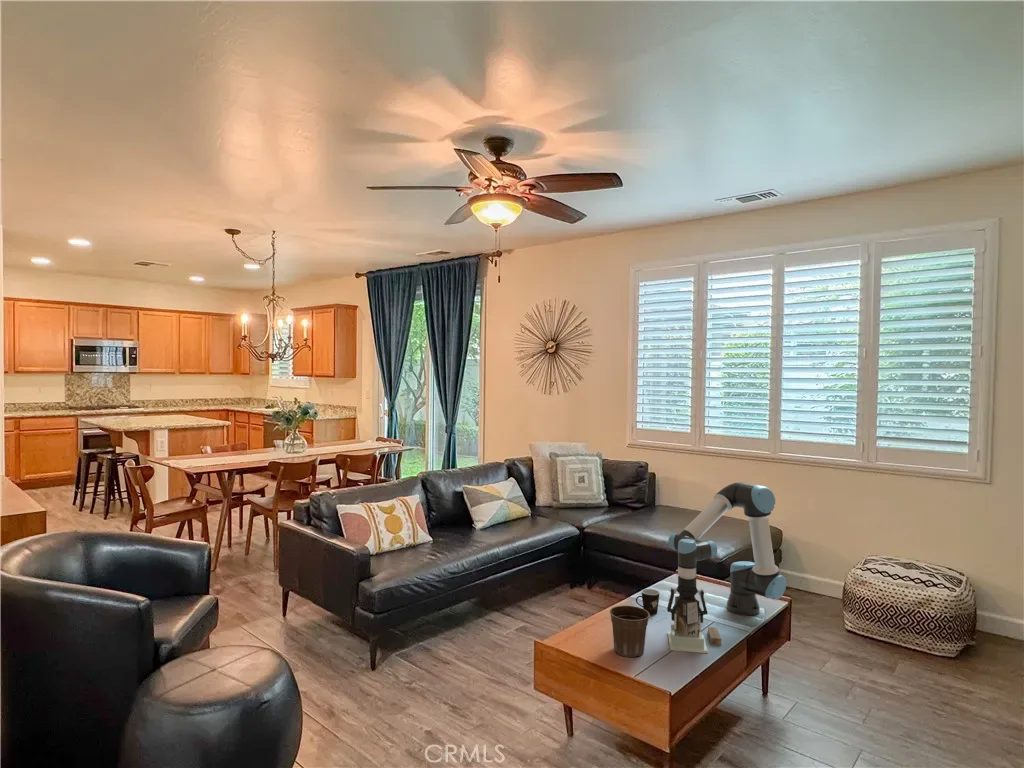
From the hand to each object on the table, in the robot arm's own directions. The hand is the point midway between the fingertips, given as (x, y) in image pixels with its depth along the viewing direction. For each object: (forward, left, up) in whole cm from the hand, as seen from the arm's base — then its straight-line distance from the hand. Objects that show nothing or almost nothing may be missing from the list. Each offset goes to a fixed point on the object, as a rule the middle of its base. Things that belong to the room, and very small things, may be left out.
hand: (687, 629), depth 259 cm
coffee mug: (+16, -32, -6) cm, 36 cm away
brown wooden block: (-12, -7, -6) cm, 15 cm away
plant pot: (+24, +13, -6) cm, 28 cm away
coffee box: (0, 0, -3) cm, 3 cm away
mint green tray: (0, 0, -6) cm, 6 cm away
